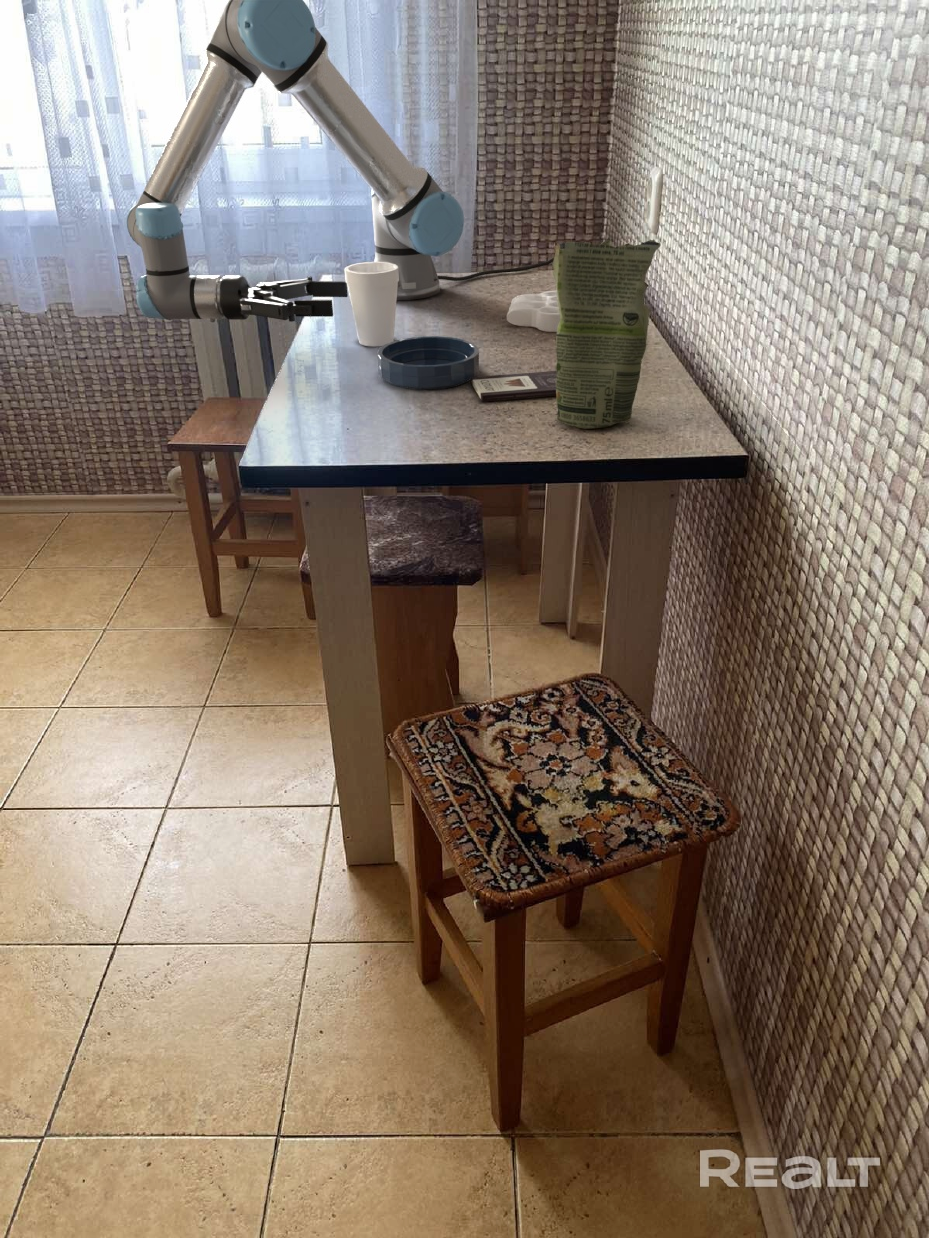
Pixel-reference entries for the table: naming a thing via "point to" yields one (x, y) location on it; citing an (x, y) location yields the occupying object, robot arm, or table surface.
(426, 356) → the bowl
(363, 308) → the foam cup
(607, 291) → the pouch
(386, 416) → the table surface
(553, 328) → the white brass knuckles
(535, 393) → the chocolate bar
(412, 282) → the robot arm
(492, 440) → the table surface
